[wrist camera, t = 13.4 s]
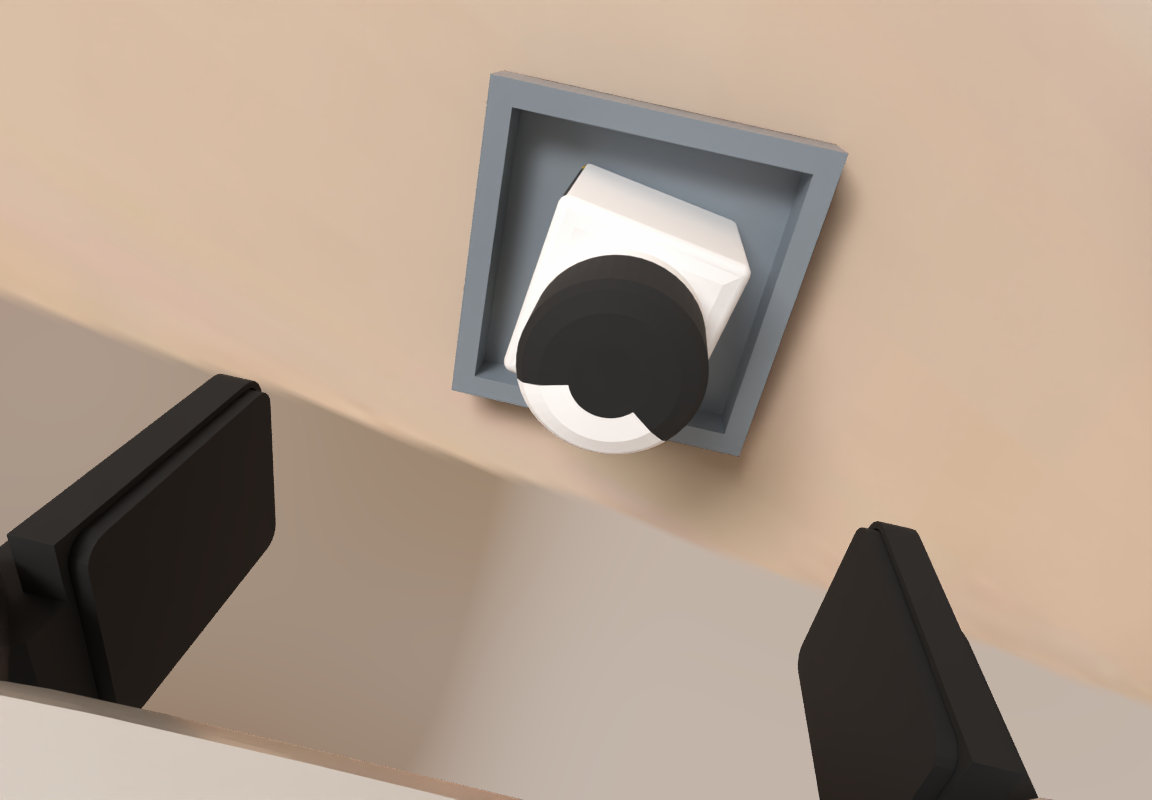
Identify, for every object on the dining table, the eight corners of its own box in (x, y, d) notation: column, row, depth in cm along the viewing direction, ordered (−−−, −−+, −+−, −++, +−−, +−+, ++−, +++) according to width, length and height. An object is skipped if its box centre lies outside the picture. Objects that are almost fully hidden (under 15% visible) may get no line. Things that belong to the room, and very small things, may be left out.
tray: (835, 144, 29) (848, 153, 27) (735, 430, 36) (738, 456, 34) (504, 70, 30) (490, 74, 27) (465, 368, 36) (451, 389, 34)
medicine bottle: (584, 159, 30) (535, 229, 20) (739, 221, 31) (772, 322, 20) (532, 307, 34) (466, 433, 23) (672, 361, 34) (670, 510, 23)
